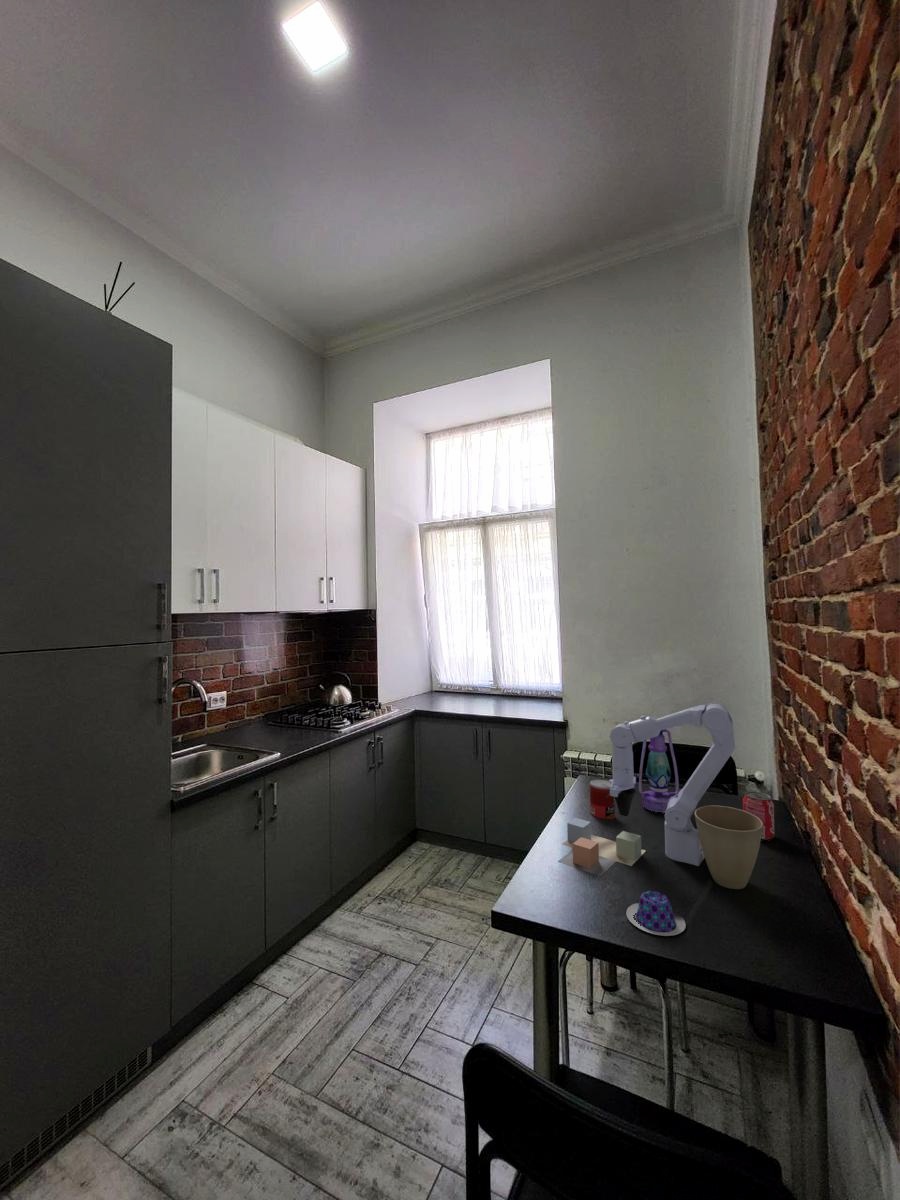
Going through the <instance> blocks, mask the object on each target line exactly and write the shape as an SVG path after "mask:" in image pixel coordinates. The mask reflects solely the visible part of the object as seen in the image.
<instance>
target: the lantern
mask: <svg viewBox="0 0 900 1200" xmlns="http://www.w3.org/2000/svg"><path fill="white" fill-rule="evenodd" d="M663 733H667V736H668V739H667V740H668V744H669V749H670V750H669V751H670V755H671V758H672V759H671V760H672V764H673V770H674V777H675V779H674V780H675V782H674V783H675V792H673V791H672V792H671V791H670V792H669V789H668V788H669V787H668V784H669V782H670V780H671V778H672V771H671V767H670V764H669V759H668V755H667V754H666V752H667V749H668V746H667V745H666V743H665V742H666V739H665V738H666V737H665V735H664V734H663ZM647 740H648V739H646V740H642V750H641V757H640V766H639V775H638V792H639V793H640V794H641V803H642V807H643V808H644V807H645V808H644V809H646V810H648V811H650V810H651V811H650V812H652V811H655V812H654V813H657V812H662V813H661V814H664V813H665V811H666V810H667V804H668V801H669V799H670V798H671V797H673V796H676V795H677V794H678V793H679V791H680V789H679V788H680V787H679V783H680V782H679V773H678V766H677V760H676V756H675V751H674V746H673V741H672V734H671V731H670V730H668V729H664V730H661V731H660V733H659V735H658V736H657V737H653V738H650V739H649V742H650V743H649V744H648V746H647ZM647 747H648V750H649V751H650V752H649V753H648V759H647V764H646V768H645V776H646V778H647V780H648V781H649V790H646V791H643V788H642V787H643V785H642V784H643V782H642V780H643V777H642V776H643V768H644V767H643V766H644V759H645V754H646V748H647Z"/></svg>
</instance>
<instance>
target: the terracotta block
mask: <svg viewBox="0 0 900 1200" xmlns="http://www.w3.org/2000/svg"><path fill="white" fill-rule="evenodd" d="M572 850H573V863H575V864H578V865H581V866H584V867H587V868H590V869H591V868H592V867H593V866H594V865H595V864H597V863H598V862H599V842H595V841H592V840H589V839H586V838H582V837H581V838H579V839H578V840H577V841H575V842H574V843H573V847H572Z"/></svg>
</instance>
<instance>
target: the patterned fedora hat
mask: <svg viewBox="0 0 900 1200" xmlns="http://www.w3.org/2000/svg"><path fill="white" fill-rule="evenodd" d="M635 913H636V915H635ZM633 915H635V918H636V920H637V922H636V920H634V918H633V917H634V916H633ZM626 917H627V919H628V920H629V922H630V923H631V924H632V925H633V926H635V927H637V928H638V929H639V930H642V931H644V932H646V933H649V934H652V935H655V936H656V935H657V936H662V937H663V936H664V937H669V936H676V935H679V934H681V933H682V932H684V931H685V929H686V928H687V927H686V921H685V919H684V917H682V915H681V914H677V913H674V912H673V909H672V904H671V902H670V900H669V898H668V897H667V896H666V895H665V894H662V893H661V892H658V891H653V890H647V891H644V892H642V893H641V895H640V897H639V902H636V903H633V904H631V905H630V906H628V908H627V909H626ZM638 921H639V922H638ZM640 922H641V923H640ZM638 923H639V924H638ZM640 925H641V926H640ZM649 928H650V929H649ZM673 928H674V929H673Z"/></svg>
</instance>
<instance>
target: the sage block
mask: <svg viewBox="0 0 900 1200" xmlns="http://www.w3.org/2000/svg"><path fill="white" fill-rule="evenodd" d="M615 842H616V856H619V857H622V858H626V859H629V860H632V861H636V859H637V858H638V857H639V856H640V855H641V849H642V835H639V834H636V833H632V832H628V831H626V830H625V831H624V830H622V831H621V832H620V833H619V834H617V836H616V837H615ZM641 856H642V855H641ZM636 862H637V861H636Z"/></svg>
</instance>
